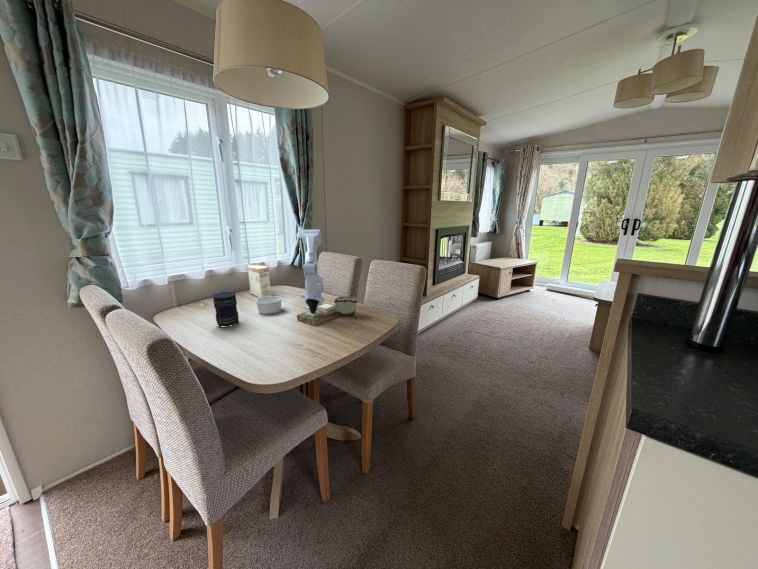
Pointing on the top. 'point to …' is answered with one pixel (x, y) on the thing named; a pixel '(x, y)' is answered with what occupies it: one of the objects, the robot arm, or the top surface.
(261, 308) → the ramekin
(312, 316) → the sage key
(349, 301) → the food container
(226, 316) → the storage jar
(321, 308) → the cream key
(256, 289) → the coffeecake box
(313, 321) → the key console
